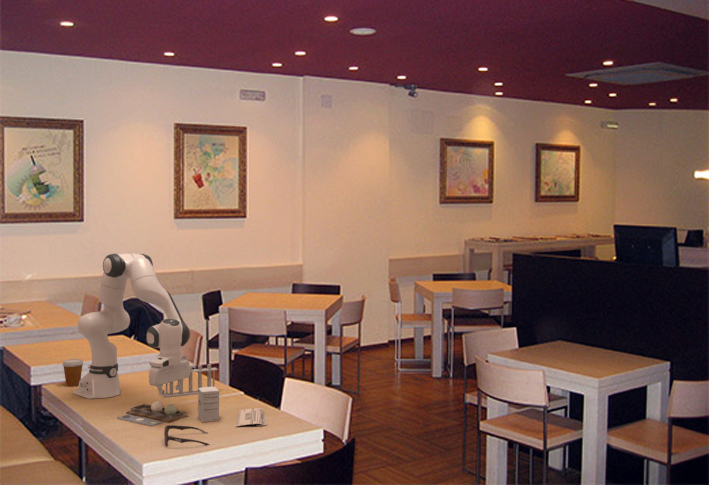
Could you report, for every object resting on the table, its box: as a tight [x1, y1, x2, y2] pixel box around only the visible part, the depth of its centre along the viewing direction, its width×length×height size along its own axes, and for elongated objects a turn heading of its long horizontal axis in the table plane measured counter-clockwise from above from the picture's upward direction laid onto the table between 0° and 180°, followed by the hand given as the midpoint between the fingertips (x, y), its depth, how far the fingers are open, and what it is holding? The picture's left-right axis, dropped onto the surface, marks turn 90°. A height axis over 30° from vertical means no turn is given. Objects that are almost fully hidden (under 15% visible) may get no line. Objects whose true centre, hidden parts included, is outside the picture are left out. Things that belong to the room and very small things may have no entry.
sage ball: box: [164, 403, 178, 416], centre depth 291 cm, size 5×5×5 cm
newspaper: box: [235, 407, 267, 428], centre depth 292 cm, size 23×12×2 cm, turn 7°
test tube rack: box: [162, 363, 218, 399], centre depth 331 cm, size 25×4×13 cm, turn 117°
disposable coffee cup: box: [62, 358, 84, 388], centre depth 344 cm, size 10×10×12 cm
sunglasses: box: [163, 424, 211, 447], centre depth 263 cm, size 16×17×5 cm
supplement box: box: [197, 386, 220, 423], centre depth 290 cm, size 7×7×13 cm
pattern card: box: [116, 414, 164, 427], centre depth 287 cm, size 20×6×1 cm, turn 60°
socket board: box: [125, 403, 189, 424], centre depth 295 cm, size 25×11×2 cm, turn 60°
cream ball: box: [150, 400, 164, 413], centre depth 295 cm, size 5×5×5 cm
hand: (170, 392), depth 291 cm, fingers open, 8 cm apart
